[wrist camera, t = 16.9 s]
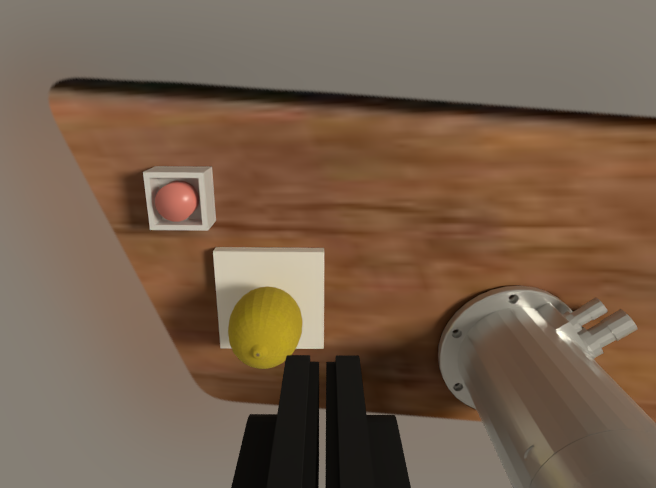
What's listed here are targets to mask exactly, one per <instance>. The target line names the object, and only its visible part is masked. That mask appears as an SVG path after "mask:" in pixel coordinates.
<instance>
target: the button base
mask: <svg viewBox="0 0 656 488" xmlns="http://www.w3.org/2000/svg"><path fill="white" fill-rule="evenodd" d="M143 177H144V185H145V193H146V201H147V209H148V217H149V225H150V230H209V229H210V227H211V226H212V225H213V224H214V223H215V221H216V215H215V201H214V188H213V174H212V167H194V166H155V167H153V168H151V169H149V170H146V171H144V172H143ZM176 180H182V181H186V182H188V183H190V184H191V185H192V186H193V187H194V188H195V189H196V191H197V193H198V195H199V204H198V207H197V209H196V210H195V211H194V212H193V213H192V214H191V215H190V216H189V217H188V218H187V219H185V220H183V221H179V222H173V221H169V220H167V219H165V218H164V217H162V216H161V215H160V214H159V212H158V211H157V209H156V206H155V197H156V194H157V192H158V191H159V190H160V189H161V188H162V187H164V186H165V185H167V184H169V183H170V182H172V181H176Z"/></svg>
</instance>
